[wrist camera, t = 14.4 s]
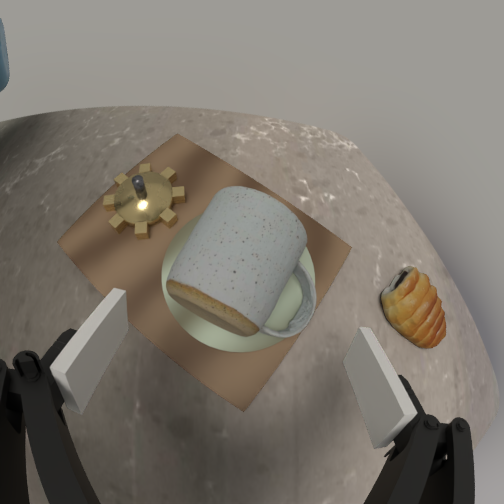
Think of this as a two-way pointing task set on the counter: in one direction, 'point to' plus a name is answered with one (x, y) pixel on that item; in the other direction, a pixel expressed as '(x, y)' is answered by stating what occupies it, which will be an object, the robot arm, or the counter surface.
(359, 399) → the robot arm
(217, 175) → the gear board
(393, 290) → the pastry
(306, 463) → the counter surface
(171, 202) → the gear
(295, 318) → the ceramic mug
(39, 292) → the counter surface
